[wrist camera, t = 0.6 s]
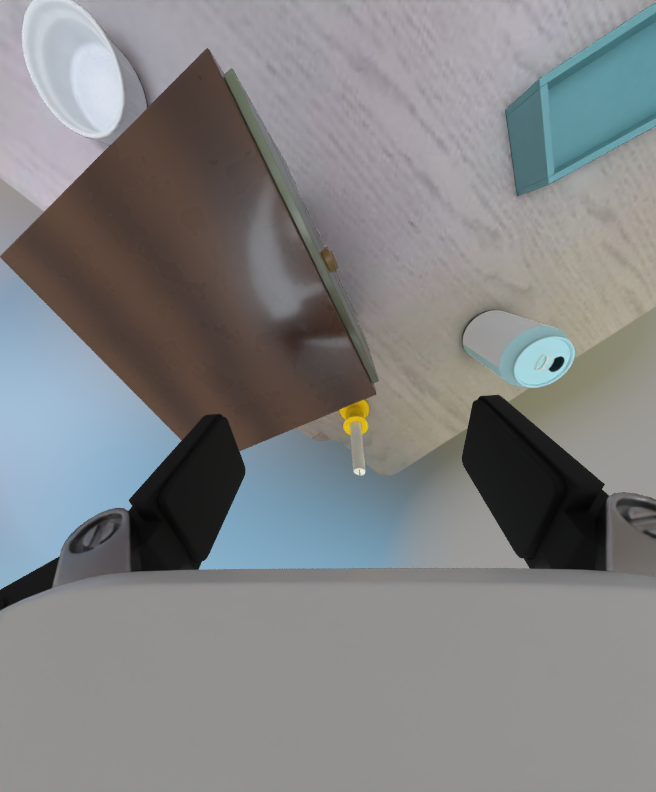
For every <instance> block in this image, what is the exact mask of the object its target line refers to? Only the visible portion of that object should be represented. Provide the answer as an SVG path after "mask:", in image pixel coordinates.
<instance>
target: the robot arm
mask: <svg viewBox="0 0 656 792" xmlns="http://www.w3.org/2000/svg"><path fill="white" fill-rule="evenodd" d="M462 462H463V465H464V467H465V469H466V471H467V473H468V474H469V476H470V477H471V479H472V481H473V483H474V484H475V486H476V488H477V489H478V491H479V493H480V494H481V496H482V497H483V499H484V501H485V503H486V504H487V506H488V508H489V509H490V511H491V513H492V515H493V516H494V518H495V519H496V521H497V523H498V525H499V526H500V528H501V530H502V531H503V532H504V534H505V536H506V538H507V540H508V541H509V543H510V545H511V546H512V548H513V550H514V551H515V553H516V554H517V555H518V556H519V557H520V558H524V560H525V561H526V563H527V564H528V566H529V568H530V569H513V568H512V569H511V568H368V569H367V568H358V569H357V568H355V569H354V568H353V569H229V570H228V569H223V570H198V569H199V567H200V564H201V562H202V561H204V560H205V559H206V558H207V557H208V555H209V553H210V550H211V549H212V546H213V544H214V542H215V540H216V537H217V535H218V533H219V531H220V529H221V526H222V524H223V522H224V520H225V517H226V515H227V513H228V511H229V509H230V507H231V504H232V502H233V500H234V498H235V495H236V493H237V491H238V489H239V487H240V484H241V482H242V480H243V478H244V475H245V466H244V463H243V460H242V457H241V455H240V452H239V449H238V446H237V444H236V441H235V438H234V435H233V433H232V430H231V427H230V424H229V422H228V419H227V418H226V417H223V416H222V415H221V414H210V415H205V416H203V417H202V419H201V420H200V421H199V422H198V423H197V424H196V425H195V426H194V427H193V429H192V430H191V431H190V432H189V433H188V434H187V435H186V436H185V438H184V439H183V440H182V441H181V442H180V443H179V444H178V446H177V447H176V448H175V449H174V450H173V451H172V452H171V453H170V454H169V456H168V457H167V458H166V459H165V460H164V461H163V462H162V463H161V465H160V466H159V467H158V468H157V469H156V470H155V471H154V472H153V473H152V475H151V476H150V477H149V478H148V479H147V480H146V481H145V483H144V484H143V485H142V486H141V487H140V488H139V489H138V490H137V491H136V493H135V494H134V495H133V496H132V497H131V498H130V500H129V502H130V503H131V504H132V507H131V509H130V510H129V511H127V510H125V509H123V508H115V509H110V510H107V511H104V512H102V513H99V514H97V515H96V516H94V517H92V518H90V519H89V520H87V521H86V522H84V523H83V524H82V525H80V526H79V527H78V528H77V529H76V530H75V531H74V532H73V533H72V534H71V535H70V536H69V537H68V539H67V540H66V541H65V543H64V545H63V547H62V549H61V553H60V557H58V558H56V559H54V560H52V561H51V562H49V563H47V564H45V565H44V566H42V567H40V568H38V569H36V570H35V571H33V572H31V573H29V574H28V575H26V576H24V577H22V578H20V579H19V580H17V581H15V582H13V583H12V584H10V585H8V586H6V587H4V588H3V589H1V590H0V792H656V500H655V499H653V498H650V497H646V496H643V495H639V494H634V493H625V492H622V493H614V494H612V495H610V496H609V495H607V494H606V493H605V492H604V491H603V490H602V488H603V486H604V485H605V484H604V483H603V482H601V481H600V480H599V479H598V478H597V477H595V476H594V475H593V474H592V473H591V472H589V471H588V470H587V469H586V468H585V467H584V466H583V465H581V464H580V463H579V462H578V461H577V460H575V459H574V458H573V457H572V456H571V455H570V454H568V453H567V452H566V451H565V450H564V449H562V448H561V447H560V446H559V445H558V444H557V443H555V442H554V441H553V440H552V439H550V437H548V436H547V435H546V434H545V433H544V432H542V431H541V430H540V429H539V428H538V427H536V426H535V425H534V424H533V423H532V422H531V421H529V420H528V419H527V418H526V417H525V416H524V415H522V414H521V413H520V412H519V411H518V410H516V409H515V408H514V407H513V406H512V405H511V404H509V403H508V402H507V401H506V400H505V399H504V398H502V397H501V396H499V395H491V396H480V397H479V398H478V400H475V401H474V402H473V405H472V410H471V415H470V420H469V425H468V430H467V435H466V440H465V445H464V450H463V455H462Z"/></svg>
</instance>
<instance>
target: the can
mask: <svg viewBox="0 0 656 792" xmlns="http://www.w3.org/2000/svg"><path fill="white" fill-rule="evenodd" d="M463 347H464V349H465V351H466V352H467V353H468V354H469V355H470V356H472V357H473V358H474V359H476V360H477V361H478V362H480V363H481V364H483V365H484V366H485V367H487V368H488V369H489V370H491V371H492V372H494V373H495V374H496V375H498V376H499V377H500V378H502V379H503V380H505V381H506V382H507V383H509V384H511V385H515V386H525V387H530V388H536V387H542V386H546V385H548V384H551V383H553V382H554V381H556V380H558V379H559V378H560V377H561V376H563V375H564V374H565V373H566V372H567V370H568V369H569V368H570V366H571V365H572V362H573V360H574V356H575V349H574V346H573V344H572V343H571V342H570V341H569V339H568V337H567V336H566V334H565V333H564V332H563V331H562V330H560V329H558V328H556V327H553V326H549V325H546V324H543V323H540V322H536V321H533V320H530V319H527V318H523V317H520V316H517V315H513V314H510V313H507V312H504V311H500V310H492V311H488V312H485V313H482V314H480V315H479V316H477V317H476V318H475V319H474V320H472V321H471V323H470V324H469V325H468V326H467V328H466V330H465V332H464V335H463Z"/></svg>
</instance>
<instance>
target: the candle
mask: <svg viewBox="0 0 656 792" xmlns="http://www.w3.org/2000/svg"><path fill="white" fill-rule="evenodd" d="M368 413H369V405H368V403H367V402H366V400H361V401H359V402H357V403H354V404H352V405H349V406H347V407H345V408H342V409H340V414H341V416H342V417H343V418H344V419H345V420H346V421H345V422H344V430H345V432H346V433H347V434H349V435H351V446H352V462H353V470H354V473H355V474H357V475H364V474H365V459H364V450H363V440H362V434H364V433H365V432H366V431H367V429H368V423H367V421H366V420H365V418H366V417H367V415H368Z"/></svg>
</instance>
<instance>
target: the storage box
mask: <svg viewBox="0 0 656 792" xmlns="http://www.w3.org/2000/svg"><path fill="white" fill-rule="evenodd" d="M506 116H507V123H508V131H509V138H510V145H511V153H512V160H513V168H514V175H515V182H516V190H517V196H519V195H522V194H524V193H527V192H530V191H532V190H535V189H538V188H540V187H543V186H546V185H549V184H551V183H552V182H554V181H556V180H558V179H560V178H561V177H563V176H565V175H567V174H569V173H571V172H572V171H574V170H576V169H578V168H580V167H582V166H583V165H585V164H587V163H589V162H591V161H592V160H594V159H596V158H598V157H600V156H602V155H603V154H605V153H607V152H609V151H611V150H613V149H614V148H616V147H618V146H620V145H622V144H624V143H625V142H627V141H629V140H631V139H633V138H634V137H636V136H638V135H640V134H642V133H644V132H645V131H647V130H649V129H651V128H653V127H655V126H656V3H654V4H653V5H651V6H650V7H648V8H646V9H645V10H643V11H642V12H640V13H639V14H637V15H636V16H634V17H633V18H631V19H630V20H628V21H627V22H625V23H624V24H622V25H620V26H619V27H617V28H616V29H614V30H613V31H611V32H610V33H608V34H607V35H605V36H604V37H602V38H601V39H599V40H598V41H596V42H595V43H593V44H591V45H590V46H588V47H587V48H585V49H584V50H582V51H581V52H579V53H578V54H576V55H575V56H573V57H572V58H570V59H569V60H567V61H566V62H564V63H562V64H561V65H559V66H558V67H556V68H555V69H553V70H552V71H550V72H549V73H547V74H546V75H544V76H543V77H541V78H540V79H539V80H537V81H536V82H535V83H534V84H533V85H532V86H531V87H530V88H529V89H528V90H527V91H526V92H524V93H523V94H522V95H521V96H520V97H519V98H518V99H517V100H516V101H515V102H514V103H513V104H512V105H510V106H509V107H508V108H507V109H506Z"/></svg>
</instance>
